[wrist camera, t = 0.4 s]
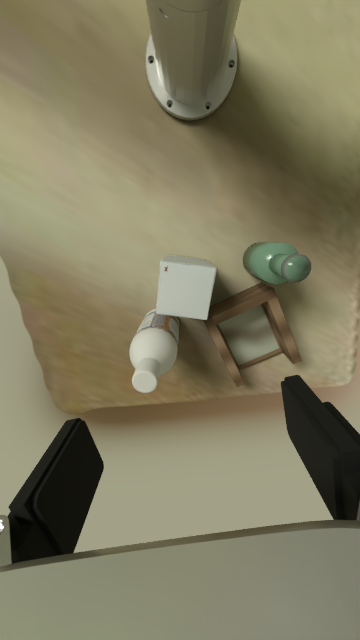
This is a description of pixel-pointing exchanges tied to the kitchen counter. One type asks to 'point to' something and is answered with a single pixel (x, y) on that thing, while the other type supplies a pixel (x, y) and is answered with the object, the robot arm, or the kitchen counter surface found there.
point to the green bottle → (276, 262)
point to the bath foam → (153, 349)
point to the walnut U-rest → (250, 329)
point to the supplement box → (185, 287)
